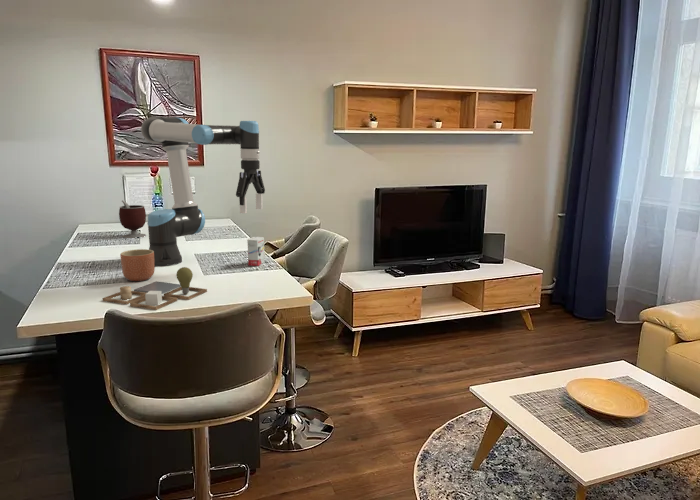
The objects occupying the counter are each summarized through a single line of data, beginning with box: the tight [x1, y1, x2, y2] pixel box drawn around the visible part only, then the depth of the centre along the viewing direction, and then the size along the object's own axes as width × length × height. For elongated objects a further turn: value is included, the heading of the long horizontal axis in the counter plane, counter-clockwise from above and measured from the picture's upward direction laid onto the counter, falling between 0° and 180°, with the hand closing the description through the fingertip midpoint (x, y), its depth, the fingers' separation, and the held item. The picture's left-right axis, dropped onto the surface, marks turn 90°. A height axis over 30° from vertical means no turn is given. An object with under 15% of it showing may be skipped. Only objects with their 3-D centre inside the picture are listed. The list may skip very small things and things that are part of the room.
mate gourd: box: [118, 200, 147, 239], centre depth 296 cm, size 16×14×20 cm
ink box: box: [247, 236, 266, 267], centre depth 235 cm, size 9×5×12 cm, turn 168°
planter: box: [120, 248, 156, 282], centre depth 208 cm, size 12×12×11 cm
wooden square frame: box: [101, 290, 146, 305], centre depth 185 cm, size 11×11×1 cm
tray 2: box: [129, 295, 178, 311], centre depth 179 cm, size 11×11×1 cm
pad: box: [133, 280, 181, 295], centre depth 197 cm, size 12×12×1 cm
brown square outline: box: [163, 286, 208, 301], centre depth 190 cm, size 11×11×1 cm
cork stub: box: [119, 285, 133, 301], centre depth 184 cm, size 4×4×4 cm
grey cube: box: [145, 291, 163, 306], centre depth 179 cm, size 4×4×4 cm
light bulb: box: [175, 266, 194, 295], centre depth 189 cm, size 6×6×10 cm
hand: (251, 211), depth 220 cm, fingers open, 13 cm apart
